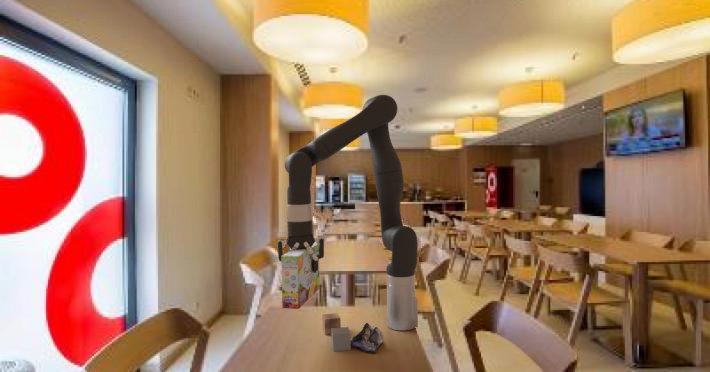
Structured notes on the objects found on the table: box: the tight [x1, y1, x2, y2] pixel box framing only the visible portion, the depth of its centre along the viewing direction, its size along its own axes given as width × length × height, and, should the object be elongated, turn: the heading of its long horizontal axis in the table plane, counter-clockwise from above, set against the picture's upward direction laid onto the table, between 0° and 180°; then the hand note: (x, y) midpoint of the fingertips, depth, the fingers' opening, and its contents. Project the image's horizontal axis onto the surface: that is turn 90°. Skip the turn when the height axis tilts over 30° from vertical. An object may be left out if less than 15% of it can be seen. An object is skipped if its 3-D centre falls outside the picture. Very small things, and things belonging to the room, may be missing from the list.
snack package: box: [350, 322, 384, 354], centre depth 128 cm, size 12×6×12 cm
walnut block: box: [321, 312, 342, 336], centre depth 139 cm, size 5×5×5 cm
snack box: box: [280, 242, 321, 310], centre depth 131 cm, size 21×6×15 cm, turn 169°
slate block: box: [331, 326, 352, 352], centre depth 127 cm, size 5×5×5 cm
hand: (301, 273), depth 131 cm, fingers closed on snack box, 7 cm apart
